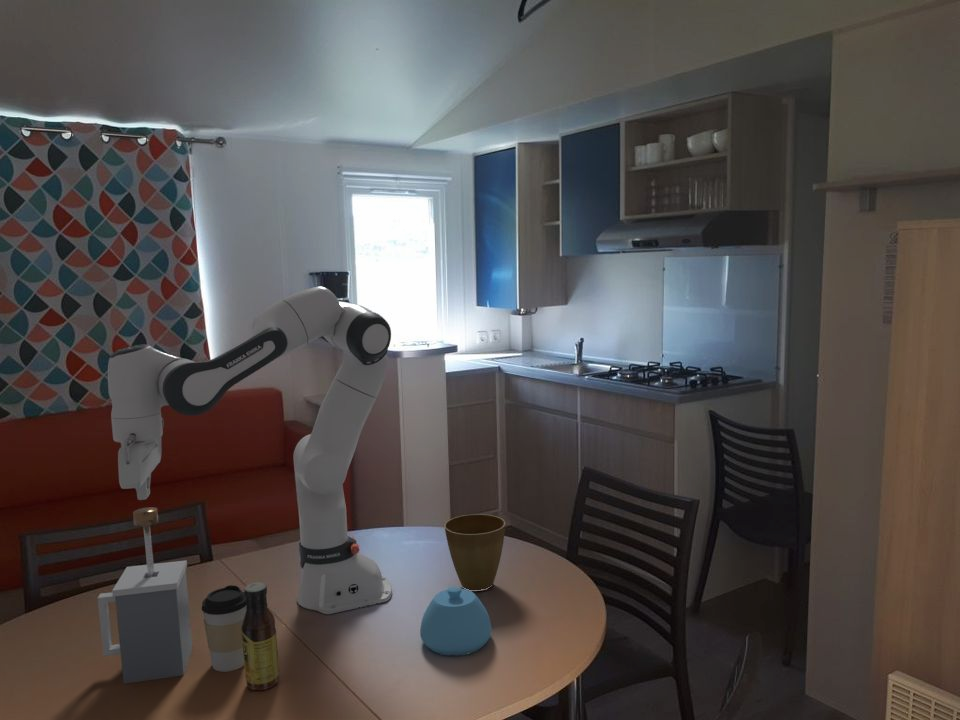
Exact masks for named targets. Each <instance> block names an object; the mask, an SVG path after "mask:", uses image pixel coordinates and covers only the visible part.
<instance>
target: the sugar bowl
mask: <svg viewBox="0 0 960 720" xmlns="http://www.w3.org/2000/svg"><path fill="white" fill-rule="evenodd" d="M492 633H493V632H492V622H491V619H490V616H489V613H488V611H487V609H486V607H485V606H484V604H483V603H482V601H481V600H480V598H479V597H478V596H477V595H476V594H475V592H471V591H469V590H466V589H464V588H462V587H460V586H450V587H448V588H447V589H444V590H441V591H439V592H438V593H436V594H435V595H434V596H433V598H431V600H430V602H429V604H428V606H427V607H426V609H425V611H424V612H423V615H422V618H421V623H420V630H419V634H420V639H421V641H422V642H423V643H424V645H425V646H426V647H427V648H428V649H430V651H432V652H434V653H436V652H437V653H436V654H438V653H440V654H439V655H442V654H444V655H443V656H447V655H461V656H464V655H463V654H466V655H469V654H468V653H470V654H472V653H471V652H473V653H475V652H477V651H479V650H480V649H482V648H483V647H484V646H485V644H487V642H488V641H489V640H490V638H491V636H492ZM478 649H479V650H478ZM476 650H477V651H476ZM474 651H475V652H474Z"/></svg>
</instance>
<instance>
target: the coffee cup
mask: <svg viewBox="0 0 960 720" xmlns="http://www.w3.org/2000/svg"><path fill="white" fill-rule="evenodd" d="M246 606H247V605H246V597H245V591H243V590H242V589H241V588H240V587H239V586H237V585H232V584H231V585H227V586H224V587H222V588H221V587H220V588H217V589H215V590H213V591H211V592H209V593H208V594H207V596H206V597H205V598H204V599H203V600H202V603H201V610H202V612H203V618H204V619H203V624H204V629H205V636H206V640H207V641H206V642H207V646H208V649H209V655H210V660H211V665H212V668H213V670H215V671H218V672H223V673H224V672H225V673H226V672H232V671H235V670H238V669H240V668H242V667H244V655H243V643H242V631H241V627H242V624H243V620H244V617H245V613H246Z"/></svg>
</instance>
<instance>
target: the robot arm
mask: <svg viewBox="0 0 960 720" xmlns="http://www.w3.org/2000/svg"><path fill="white" fill-rule="evenodd" d="M319 338H321V339H322V340H324V341H325V342H327V343H329V344H330V345H332V346H333V347H335V348H336V349H338V350H340V351H342V352H343V357H342V363H341V365H340V367H339V368H338V370H337V372H336V374H335V377H334V378H333V380H332V382H331V383H330V386H329V388H328V390H327V391H326V392H327V393H326V395H325V396H324V398H323V401H322V402H321V404H320V407H319V409H318V413H317V416H316V419H315V423H314V425H313V428H312V431H311V433H310V434H307V435H305V436H304V437H302V438H300V440H299V441H298V442H297V444H296V445H295V448H294V451H293V455H292V456H293V459H292V460H293V469H294V481H295V491H296V501H297V509H298V518H299V519H298V520H299V536H300V537H299V538H300V541H299V543H298V545H299V546H298V558H299V560H298V562H299V564H300V567H301V568H300V569H301V571H300V584H299V590H298V594H297V595H298V596H297V598H296V599H297V604H298V605H299V606H301V607H303V608H305V609H307V610H313V611H317V612H320V613H322V614H324V615H331V614H332V615H333V614H336V613H340V612H345V611H350V610H354V609H359V607H360V608H362V607H363V606H364V607H368V606H367V605H369V606H374V605H377V604H376V603H378V604H381V603H382V602H383V603H386V602H388V601H389V600H390V599H391V597H392V595H393V587H392V584H391V582H390V580H389V579H388V578H387V577H385V576H383V575H382V572H381V569H380V567H379V565H378V564H377V563H376V561H375V560H374V559H372V558H370V557H368V556H366V555H365V554H363V553H361V552H360V545H359V544H358V543H357V540H356V539H355V537H354V536H349V535H348V523H347V522H348V521H347V520H348V518H347V506H346V500H345V494H344V487H343V486H344V485H343V484H344V483H345V482H346V481H345V480H346V478H347V475H348V470H349V467H350V466H351V462H352V459H353V457H354V454H355V452H356V448H357V445H358V443H359V442H358V441H359V439H360V436H361V433H362V430H363V428H364V426H365V424H366V421H367V419H368V417H369V415H370V413H371V411H372V409H373V407H374V405H375V402H376V401H377V398H378V396H379V394H380V391H381V389H382V387H383V385H384V382H385V378H386V375H387V373H388V369H389V366H390V365H389V364H390V360H389V357H388V355H387V353H388V350H389V347H390V345H391V340H392V330H391V326H390V324H389V323H388V321H387V320H386V319H385V318H384V317H383V316H382V315H381V314H379V313H377V312H375V311H372V310H371V309H369V308H367V307H365V306H363V305H361V304H355V303H352V302H348V301H346V300H343V299H338V297H337V296H336V295H335V293H333V292H332V291H331V290H330V289H329V288H327V287H324V286H314V287H310V288H306V289H304V290H301V291H298V292H295V293H292V294H291V295H288V296H286V297H284V298H281V299H280V300H278V301H276V302H274V303H273V304H270V305H269V306H267V307H266V308H265V309H263V310H262V311H260V313H258V314H257V315H256V316H255V317H254V318H253V321H252V325H251V331H250V334H249V336H248V337H247V338H246V339H244V340H243V341H241V342H240V343H238V344H236V345H235V346H232V347H231V348H229V349H228V350H226V351H224V352H223V353H221V354H219V355H218V356H216V357H214V358H212V359H208V360H204V361H194V360H191V359H187V358H183V357H179V356H174V355H172V354H169V353H165V352H163V351H161V350H159V349H156V348H154V347H153V346H151V345H150V344H146V343H144V344H136V345H130V346H126V347H123V348H120V349H118V350H116V351H114V352H113V353H112V354H111V356H109V359H108V361H107V363H108V364H107V387H108V388H107V389H108V396H109V398H110V401H111V405H112V406H111V407H112V408H111V412H110V413H111V414H110V418H111V419H110V420H111V431H112V439H113V441H114V442H115V443H120V447H119V449H118V451H117V463H118V464H117V467H118V471H117V472H118V482H119V486H120V488H121V489H122V490H123V489H124V490H126V489H135V490H136V497H137V500H139V501H144V500H147V499H148V497H150V494H151V479H152V478H151V477H152V473H153V471H154V470H155V469H156V467H157V466H158V465H159V464H160V462H161V460H162V436H163V435H164V434H163V433H164V431H163V429H164V418H163V417H162V411H161V410H162V409H161V408H163V407H164V406H170V407H171V409H172V410H174V411H175V412H177V413H179V414H181V415H183V416H191V417H193V416H194V417H195V416H200V415H203V414H206V413H207V412H210V411H211V410H212V409H213V408H215V406H216V405H217V404H218V403H219V402H220V401H221V399H222V398H223V396H224V395H225V394H226V392H227V391H229V390H230V389H231V388H232V387H234V386H235V385H236V384H238V383H240V382H241V381H243V380H244V379H247V378H248V377H249V376H251V375H252V374H254V373H256V372H257V371H259V370H261V369H262V368H263V367H265V366H266V365H268V364H270V363H272V362H273V361H276V360H277V359H280V358H281V357H282V358H283V357H284V356H286V355H289V354H291V353H293V352H295V351H297V350H299V349H301V348H303V347H305V346H307V345H308V344H311V343H312V342H314V341H315V340H317V339H319ZM364 607H363V608H364Z"/></svg>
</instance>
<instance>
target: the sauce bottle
mask: <svg viewBox="0 0 960 720" xmlns="http://www.w3.org/2000/svg"><path fill="white" fill-rule="evenodd" d="M267 588H268V587H267V584H266V583H264V582H259V581H258V582H252V583H250V584H248V585H246V586H245V587H244V591H243V592H245V597H246V605H247V606H246V613H245V617H244V620H243V624H242V627H241V631H242V643H243V655H244V666H243V667H244V675H245V676H244V677H245V681H246V685H247V688H249V690H252V691H264V690H268V689H271V688H273V687H275V685H277V683H278V682H279V680H280V674H279V673H280V667H279V654H278V642H277V641H278V639H277V628H276V620H275V615H274V614H273V613H272V611H271V610H270V609H269V608H268V602H267V600H268V599H267V592H268V589H267Z"/></svg>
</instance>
